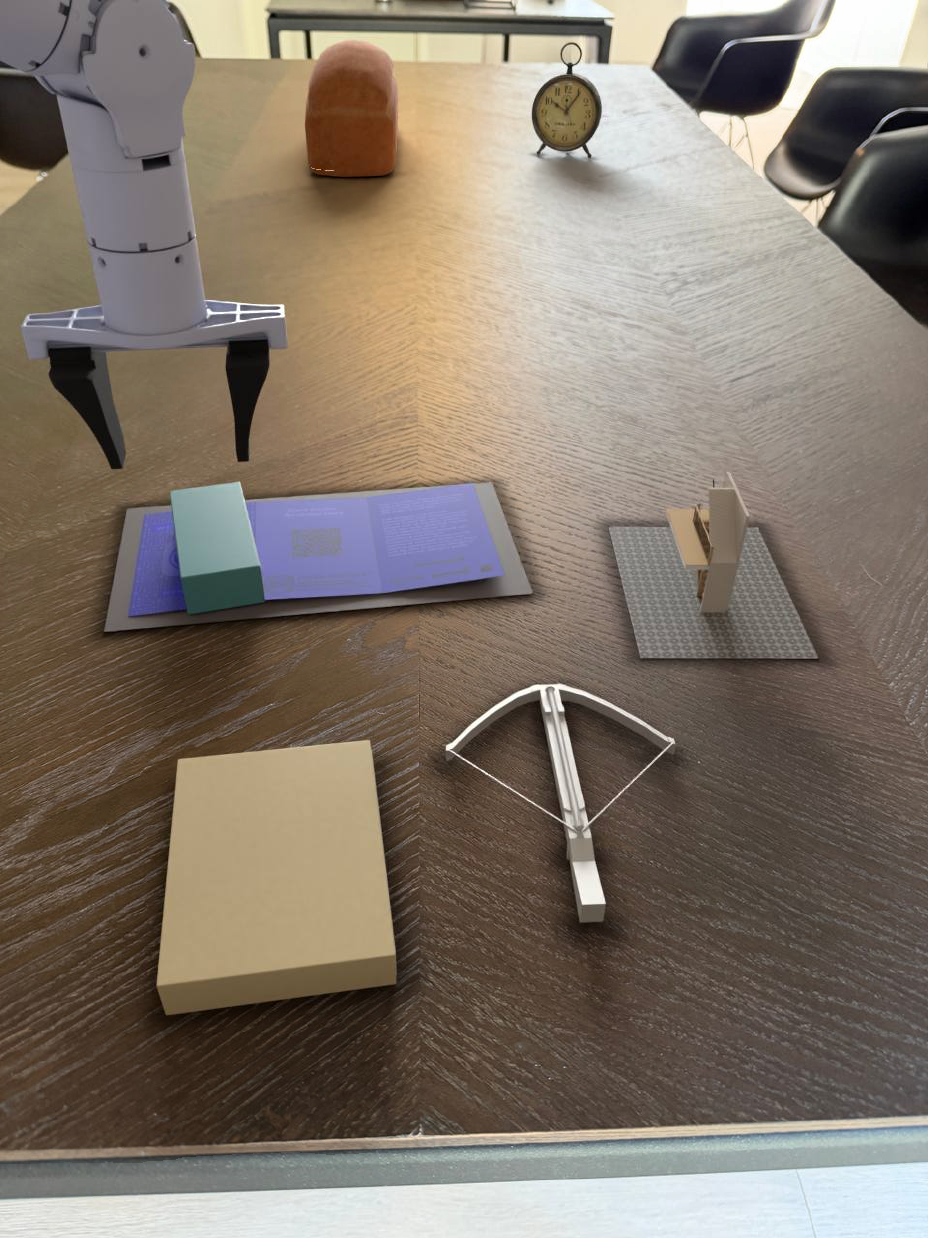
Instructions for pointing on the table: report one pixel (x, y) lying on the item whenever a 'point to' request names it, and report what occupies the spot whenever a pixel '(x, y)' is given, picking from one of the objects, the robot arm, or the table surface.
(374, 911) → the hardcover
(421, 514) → the booklet
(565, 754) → the crossbow
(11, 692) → the table surface
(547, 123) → the alarm clock
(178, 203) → the robot arm
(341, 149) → the bread
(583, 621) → the table surface
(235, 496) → the teal rectangular block
